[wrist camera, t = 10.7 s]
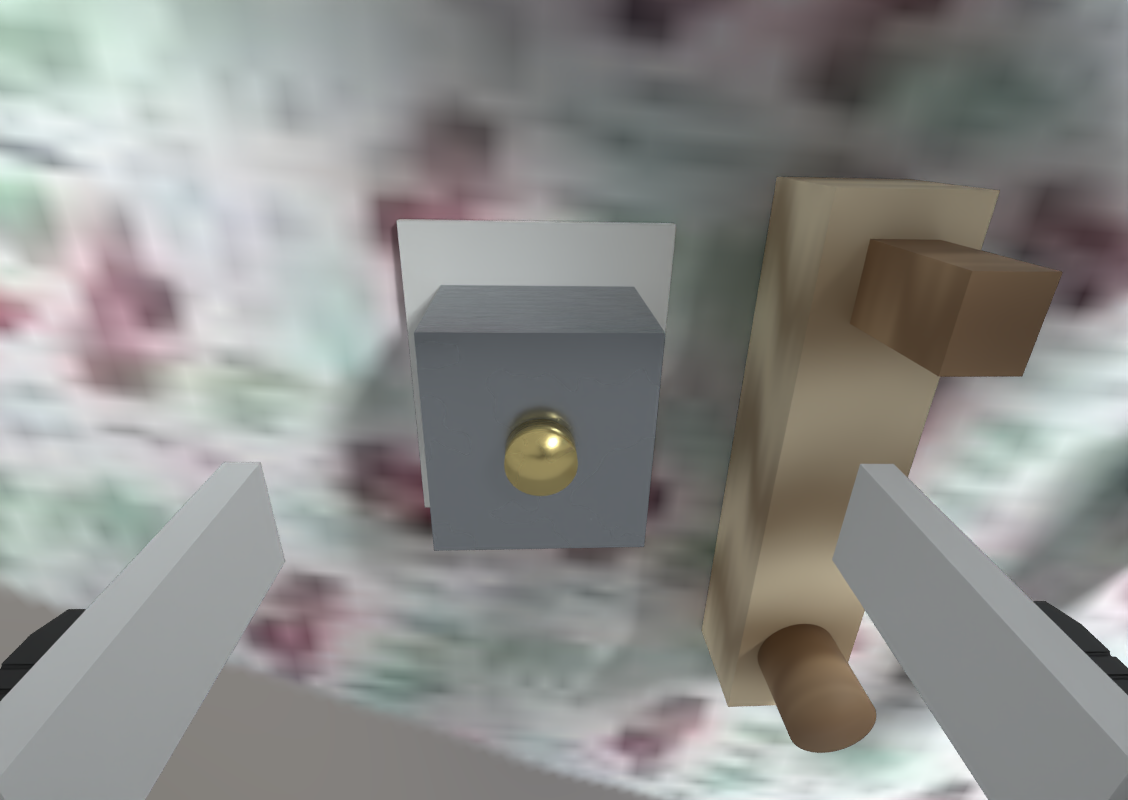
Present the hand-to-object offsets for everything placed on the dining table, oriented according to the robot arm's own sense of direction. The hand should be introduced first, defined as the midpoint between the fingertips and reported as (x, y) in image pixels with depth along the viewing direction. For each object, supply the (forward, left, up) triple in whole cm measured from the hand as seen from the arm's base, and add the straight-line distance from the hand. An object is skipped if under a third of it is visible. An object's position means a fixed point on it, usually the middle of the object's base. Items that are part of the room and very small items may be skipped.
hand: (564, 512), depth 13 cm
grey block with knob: (0, 0, -9) cm, 9 cm away
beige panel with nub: (+3, +10, -9) cm, 14 cm away
